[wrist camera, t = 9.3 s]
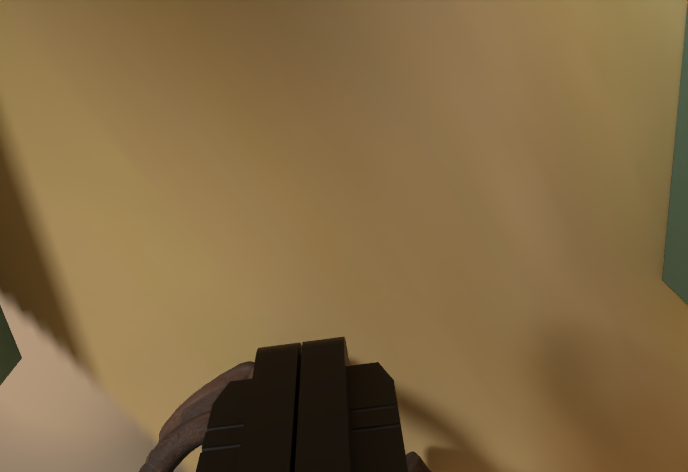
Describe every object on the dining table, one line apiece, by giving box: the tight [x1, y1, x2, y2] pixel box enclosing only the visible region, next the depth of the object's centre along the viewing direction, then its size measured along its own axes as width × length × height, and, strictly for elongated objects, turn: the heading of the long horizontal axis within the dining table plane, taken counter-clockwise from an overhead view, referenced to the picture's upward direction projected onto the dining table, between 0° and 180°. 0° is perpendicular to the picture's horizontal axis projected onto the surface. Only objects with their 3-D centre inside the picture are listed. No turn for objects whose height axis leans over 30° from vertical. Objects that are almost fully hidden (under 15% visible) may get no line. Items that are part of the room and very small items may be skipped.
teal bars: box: [0, 5, 688, 385], centre depth 15 cm, size 18×25×5 cm
